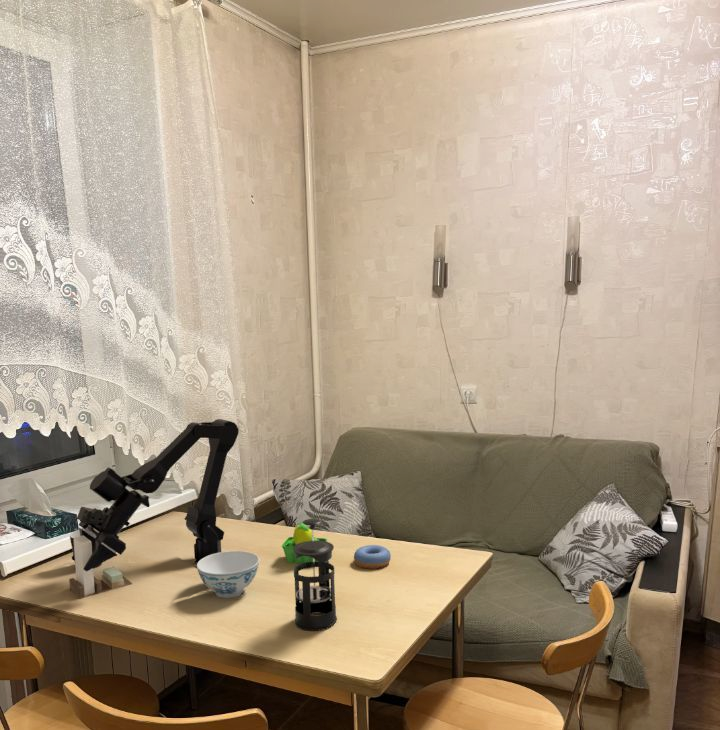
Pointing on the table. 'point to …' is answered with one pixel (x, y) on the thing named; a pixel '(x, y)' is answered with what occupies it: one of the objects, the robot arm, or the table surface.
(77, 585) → the rack
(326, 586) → the french press
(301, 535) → the fruit basket
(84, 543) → the white rectangular block
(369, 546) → the doughnut
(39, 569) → the table surface
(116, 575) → the offcut upper
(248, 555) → the chinaware
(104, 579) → the offcut lower
